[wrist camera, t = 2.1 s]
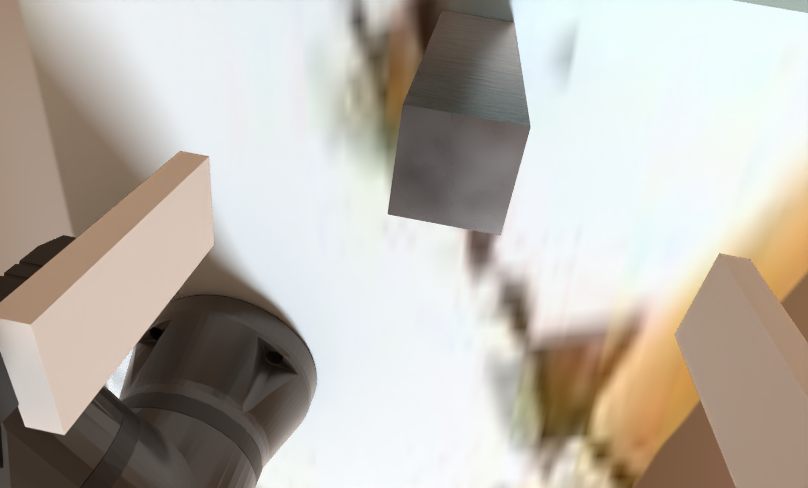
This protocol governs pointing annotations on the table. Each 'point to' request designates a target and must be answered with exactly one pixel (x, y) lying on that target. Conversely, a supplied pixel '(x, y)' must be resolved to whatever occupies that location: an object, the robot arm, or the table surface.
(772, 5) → the grey-green open box
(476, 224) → the brushed steel bar
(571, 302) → the table surface
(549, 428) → the table surface
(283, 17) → the table surface
